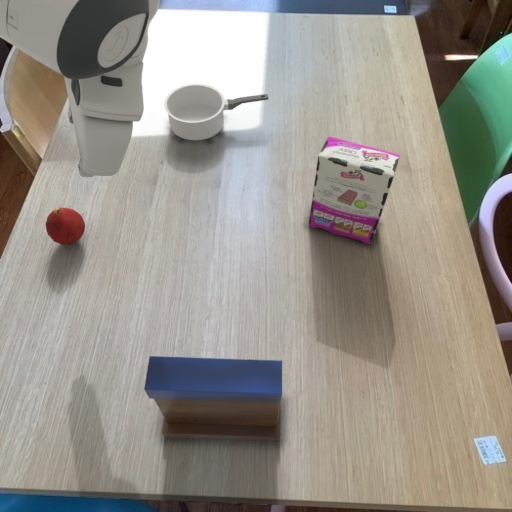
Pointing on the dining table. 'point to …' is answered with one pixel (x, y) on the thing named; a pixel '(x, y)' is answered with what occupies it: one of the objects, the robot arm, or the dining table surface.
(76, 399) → the dining table surface
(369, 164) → the candy bar box
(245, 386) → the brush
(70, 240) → the red pomegranate
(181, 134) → the saucepan
